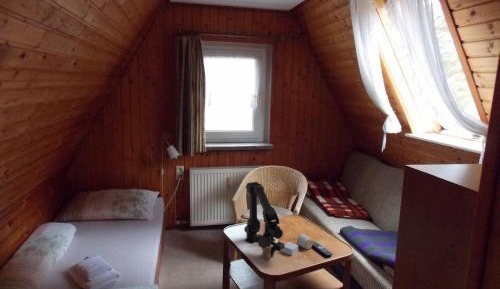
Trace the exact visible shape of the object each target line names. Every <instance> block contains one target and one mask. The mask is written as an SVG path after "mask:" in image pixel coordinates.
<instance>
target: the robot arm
mask: <svg viewBox="0 0 500 289" xmlns="http://www.w3.org/2000/svg"><path fill="white" fill-rule="evenodd" d="M245 189H246V193H247V195H248V197H249V199H248V201H249V204H248V205H249V208H248V209H249V218H248V220H247V222H246V226H244V229H243V230H244V232H245V233H246V235H245V236H246V237H245V239H244V241H245V242H248V243H250V244H254V243H257V244H258V247H260V248H261V250H262V251H263V248H266V247H269V246H270V245H273V247H272V248H271V257H273V255H274V256H275V253H276V252H280V251H283V248H284V247H285V243H284V242H281V241H278V242H277V243H275V242H274V241H275V239H274V237H275V238H276V239H278V240H279V239H281V238H282V237H283V235H284V231H283V230H282V229H281V227H280V226H279V225H280V219H279V216H278V213H277V212H276V210H275V208H274V207H273V206H272V205H271V204H270V202H269V199H268V196H267V194H266V192H265V188H264V186H263V185H262V183H259V182H258V181H252V182H251V181H250V182H247V183H246V185H245ZM258 201H259V204H260V206H261V207H262V208H261V209H262V219H263V223H264V232H263V234H260V229H261V221H260V220H259V218H258ZM273 258H274V257H273Z"/></svg>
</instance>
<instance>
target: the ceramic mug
mask: <svg viewBox="0 0 500 289" xmlns="http://www.w3.org/2000/svg"><path fill="white" fill-rule="evenodd" d="M313 243H314V240H313V239H312V238H311V237H309V236H308V235H306V234H304V233H300V234H299V235H298V236H297V238H296V245H298V246H299V247H301V248H303V249H306V250H310V249H311V248H312V247H313V246H314V245H313ZM312 245H313V246H312Z"/></svg>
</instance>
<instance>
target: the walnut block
mask: <svg viewBox="0 0 500 289" xmlns="http://www.w3.org/2000/svg"><path fill="white" fill-rule="evenodd" d="M271 248H272V246H269V247H266V248H263V250H262V258H263V259H266V260H267V261H271V260H272V259H273V258H274V257H275V254H274V255H273V257H271Z"/></svg>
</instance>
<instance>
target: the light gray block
mask: <svg viewBox="0 0 500 289" xmlns="http://www.w3.org/2000/svg"><path fill="white" fill-rule="evenodd" d="M284 245H285V247H284V248H283V249H282V250H281V251H282V253H283V254H287V255H289V256H294V255H296V254H297V253H298V252H299V245H298V244H297V243H296V244H295V243H293V242H290V241H288V242H287V243H284Z"/></svg>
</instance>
